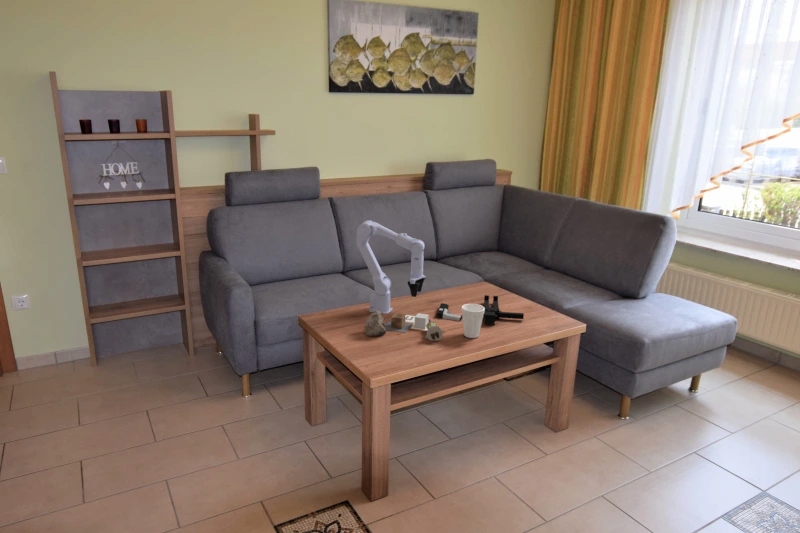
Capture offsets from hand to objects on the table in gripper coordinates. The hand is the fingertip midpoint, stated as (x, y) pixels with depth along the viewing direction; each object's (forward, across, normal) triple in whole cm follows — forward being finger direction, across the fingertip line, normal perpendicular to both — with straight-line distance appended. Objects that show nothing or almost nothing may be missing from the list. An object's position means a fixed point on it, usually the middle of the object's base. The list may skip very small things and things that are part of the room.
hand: (416, 294), depth 264 cm
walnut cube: (+10, -19, +2) cm, 21 cm away
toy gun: (+11, +5, -16) cm, 20 cm away
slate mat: (+10, -19, +3) cm, 22 cm away
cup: (+10, -17, -30) cm, 36 cm away
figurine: (+10, -23, -15) cm, 29 cm away
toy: (+10, +13, -34) cm, 38 cm away
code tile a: (+10, -8, +1) cm, 13 cm away
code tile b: (+10, -15, -7) cm, 19 cm away
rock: (+10, -30, +10) cm, 33 cm away
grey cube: (+10, -15, -7) cm, 19 cm away
